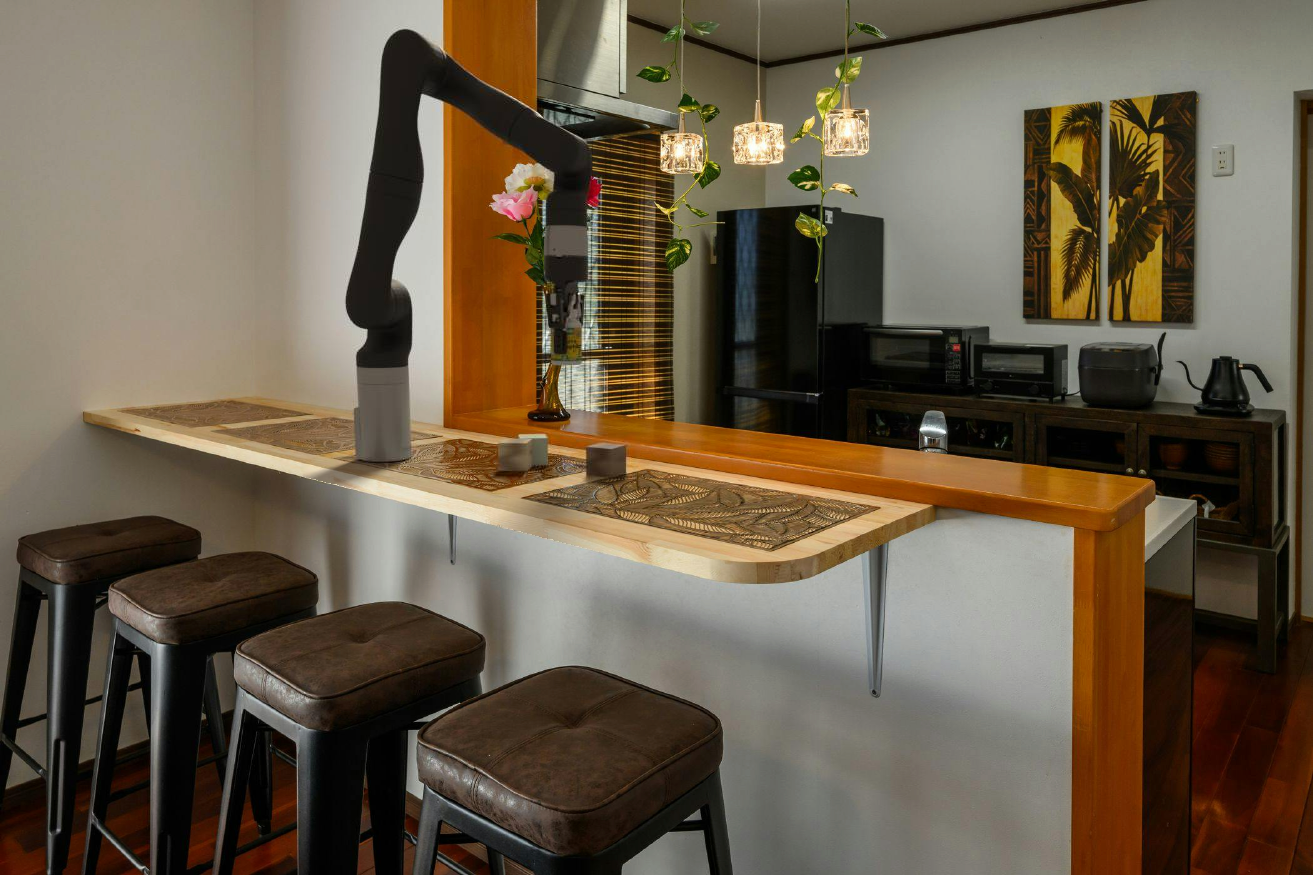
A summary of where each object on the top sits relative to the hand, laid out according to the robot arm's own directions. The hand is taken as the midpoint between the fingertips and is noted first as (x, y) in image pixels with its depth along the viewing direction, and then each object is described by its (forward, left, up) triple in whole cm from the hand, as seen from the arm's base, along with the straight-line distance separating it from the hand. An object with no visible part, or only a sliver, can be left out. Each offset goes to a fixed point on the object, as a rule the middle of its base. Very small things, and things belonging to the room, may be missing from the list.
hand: (566, 352), depth 157 cm
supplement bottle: (0, 0, -2) cm, 2 cm away
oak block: (-9, -2, -21) cm, 23 cm away
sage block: (-8, +4, -21) cm, 22 cm away
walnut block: (+8, -3, -21) cm, 22 cm away
